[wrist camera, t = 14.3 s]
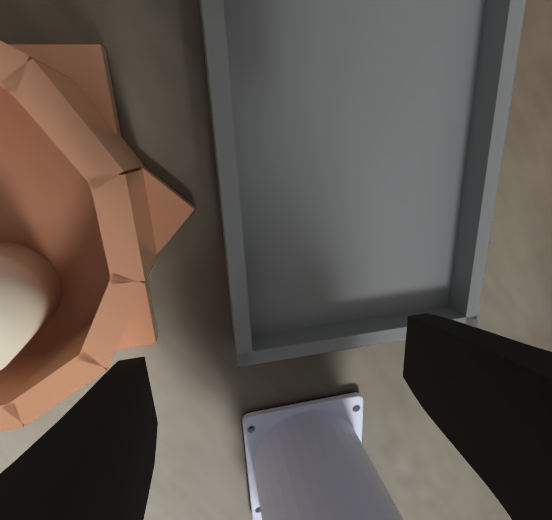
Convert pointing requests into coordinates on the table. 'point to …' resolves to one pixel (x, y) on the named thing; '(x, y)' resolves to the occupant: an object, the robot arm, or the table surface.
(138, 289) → the terracotta bowl
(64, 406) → the table surface
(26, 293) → the beige rounded capsule
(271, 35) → the parts tray
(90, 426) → the robot arm
